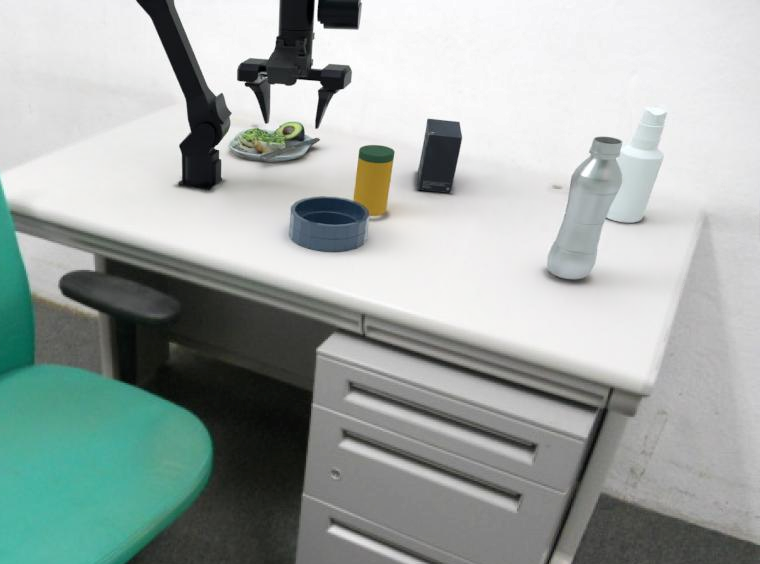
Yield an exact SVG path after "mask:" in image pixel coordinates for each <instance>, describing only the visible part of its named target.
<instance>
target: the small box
mask: <svg viewBox="0 0 760 564" xmlns="http://www.w3.org/2000/svg"><path fill="white" fill-rule="evenodd" d="M462 142H463V134H462V128H461V122H460V121H454V120H444V119H438V118H437V119H436V118H427V119H426V125H425V132H424V137H423V143H422V148H421V152H420V153H421V154H420V160H419V164H418V168H417V181H416V182H417V191H426V192H427V191H428V192H437V193H448V194H451V192H452V189H453V184H454V181H455V175H456V172H457V171H456V170H457V165H458V161H459V156H460V151H461V147H462Z"/></svg>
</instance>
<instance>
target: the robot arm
mask: <svg viewBox="0 0 760 564" xmlns="http://www.w3.org/2000/svg"><path fill="white" fill-rule="evenodd" d="M135 1H136V3H137V4H138V5H139V7H140V8H142V10H143V11H144V12H145V13H146V14H147V16H148V17H149V18H150V19H151V21H152V24H153V26H154V28H155V31H156V33H157V36H158V38H159V41H160V42H161V45H162V48H163V50H164V52H165V55H166V57H167V59H168V61H169V64H170V66H171V68H172V71H173V73H174V76H175V77H176V80H177V83H178V84H179V85H178V86H179V87H180V90H181V92H182V95H183V96H184V100H185V105H186V115H187V122H188V126H189V130H190V132H189V133H188V134H187V136H186V137H184V139H182V141H181V142H180V143H179V144H178V148H179V150H180V153H181V180H180V181H178V182H177V185H178V186H179V187H186V188H190V189H191V188H192V189H196V190H203V191H211V190H212V189H214V188H215V187H216V186H217V185H218V184H220V183H221V182H222V181H223V177H222V158H220V149H216V146H218V145H219V144H220V143H221V141H222V140H223V139H224V137H226V135H227V134H228V132H229V130H230V127H231V118H230V117H231V115H232V114H233V113H232V112H231V110H230V109H229V108H228V105H227V102H226V98H225V96H224V93H223V92H220V93H219V94H217V95H216V94H215V93H214V92H213V91H212V90H211V88H210V87H209V86H208V83H207V81H206V79H205V77H204V74H203V72H202V68H201V66H200V64H199V62H198V59H197V56H196V54H195V51H194V49H193V47H192V45H191V42H190V40H189V38H188V35H187V33H186V29H185V28H184V25H183V22H182V20H181V18H180V16H179V13H178V11H177V8H176V4H175V0H135ZM278 3H279V4H278V33H277V36H276V37H275V45H274V49H273V51H272V52H271V54H270V56H269V58H268V59H267V58H257V57H256V58H253V57H249V58H247V59H246V60H243V61H242V62H240V63H239V64H238V66H237V70H236V80H237V81H238V82H242V83H244V84H243V85H244V86H245V88H250V90H251V91H252V92H253V93H254V95H255V97H256V100H257V102H258V105H259V108H260V113H261V115H262V118H263V121H264V124H266V125H268V124H269V122H270V117H271V85H273V86H274V85H285V86H286V87H292V86H294V85H296V84H297V82H298V80H299V81H310V82H311V81H312V82H319V84H320V85H321V87H320V88H319V89H318V90H317V97H318V99H317V105H316V113H315V119H314V129H315V130H318V129H319V128H320V125H321V124H322V121H323V119H324V116H325V114H326V111H327V109H328V107H329V104H330V102H331V100H332V98H333V97H334V95H336V94H337V93H338V92H340V91H341V90H344V89H346V88H347V87H348V86H349V85H350V84H351V83H352V76H353V71H352V68H351V66H350V65H349V64H337V63H336V64H335V63H328V64H327V65H326V66H325V67H323V68H312V67H313V66H314V58H313V44H314V40H315V34H316V33H315V32H314V27H315V26H314V25H315V9H316V8H315V7H316V0H279V2H278ZM362 7H363V2H362V0H317V10H316V18H317V19H316V21H317V22H318V23H319V24H320V25H322V27H323V29H324V30H348V31H349V30H350V31H351V30H353V31H354V30H355V31H359V29H360V25H361V17H362Z"/></svg>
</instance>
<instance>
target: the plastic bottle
mask: <svg viewBox="0 0 760 564" xmlns="http://www.w3.org/2000/svg"><path fill="white" fill-rule="evenodd" d="M622 146H623V140H621V139H620V138H616V137H611V136H595V137H594V138H593V140H592V143H591V147H590V148H589V149H588V153H589V154H590V155H589V156H588V157H587V158H586V159H585V160H583V161H582V162H581V163H580V164H579V165H578V166H577V167H576V168H575V170H574V171H573V173H572V175H571V178H570V184H569V188H568V189H569V191H568V197H567V203H566V208H565V211H564V212H565V213H564V216H563V220H562V222H561V225H560V226H559V227H560V228H559V230H558V233H557V235H556V238H555V240H554V241H553V243H552V245H551V247H550V249H549V251H548V253H547V257H546V266H547V270H548V272H550V274H552V275H553V276H556V277H559V278H561V279H565V280H581V279H584V278H586V277H587V276H588V275H590V274H591V272H592V271H593V269H594V267H595V265H596V262H597V257H598V247H599V243H600V238H601V234H602V231H603V230H602V229H603V227H604V225H605V221H606V219H607V218H606V217H607V214H608V211H609V209H610V207H611V205H612V203H613V201H614V199H615V197H616V195H617V193H618V190H619V189H620V186H621V184H622V173H621V170H620V167H619V165H618V163H617V158H618V157H619V156H620V153H621V152H620V150H621V148H623V147H622Z"/></svg>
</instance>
